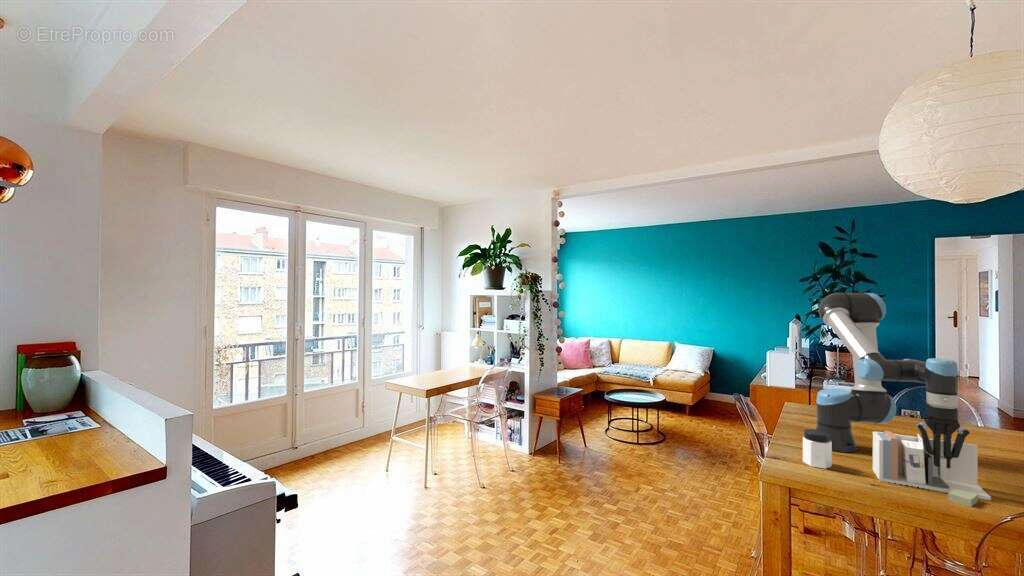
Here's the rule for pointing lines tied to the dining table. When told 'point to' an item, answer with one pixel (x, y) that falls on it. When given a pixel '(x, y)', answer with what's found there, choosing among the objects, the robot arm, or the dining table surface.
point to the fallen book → (963, 497)
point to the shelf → (957, 475)
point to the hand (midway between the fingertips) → (942, 476)
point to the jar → (817, 448)
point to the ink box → (913, 461)
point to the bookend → (928, 473)
